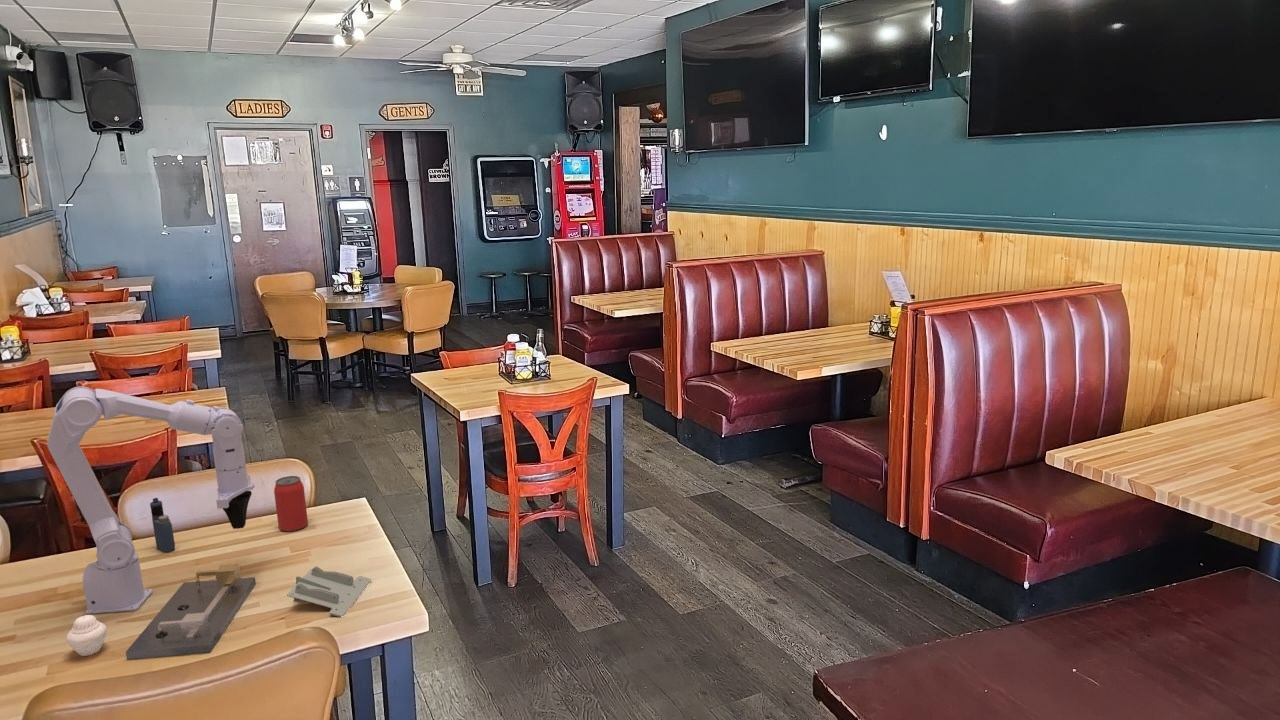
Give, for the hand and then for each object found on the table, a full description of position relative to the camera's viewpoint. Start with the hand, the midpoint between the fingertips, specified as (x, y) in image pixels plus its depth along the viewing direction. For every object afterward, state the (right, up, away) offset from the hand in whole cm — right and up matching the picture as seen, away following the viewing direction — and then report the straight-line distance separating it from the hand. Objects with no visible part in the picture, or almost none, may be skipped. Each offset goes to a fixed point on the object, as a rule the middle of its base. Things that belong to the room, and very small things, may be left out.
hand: (239, 527), depth 180 cm
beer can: (+1, -5, +25) cm, 26 cm away
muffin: (-14, -17, -27) cm, 35 cm away
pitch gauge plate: (0, -14, -16) cm, 22 cm away
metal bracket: (+22, -13, -9) cm, 27 cm away
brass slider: (-1, -10, -7) cm, 12 cm away
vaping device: (-23, -8, +14) cm, 29 cm away
